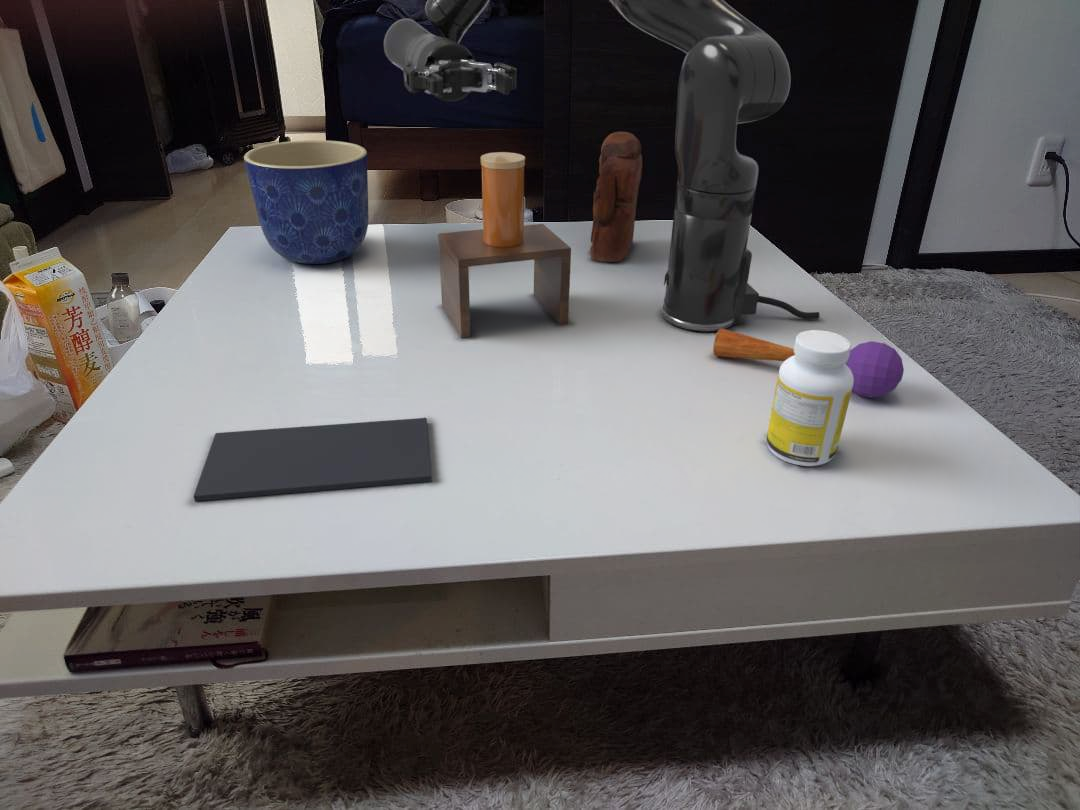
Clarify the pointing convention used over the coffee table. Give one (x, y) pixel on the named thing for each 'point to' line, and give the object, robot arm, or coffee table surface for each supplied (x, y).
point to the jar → (503, 198)
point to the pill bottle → (811, 399)
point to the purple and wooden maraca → (868, 363)
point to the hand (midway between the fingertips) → (474, 86)
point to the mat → (315, 459)
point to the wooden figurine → (616, 197)
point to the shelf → (472, 251)
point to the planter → (311, 198)
